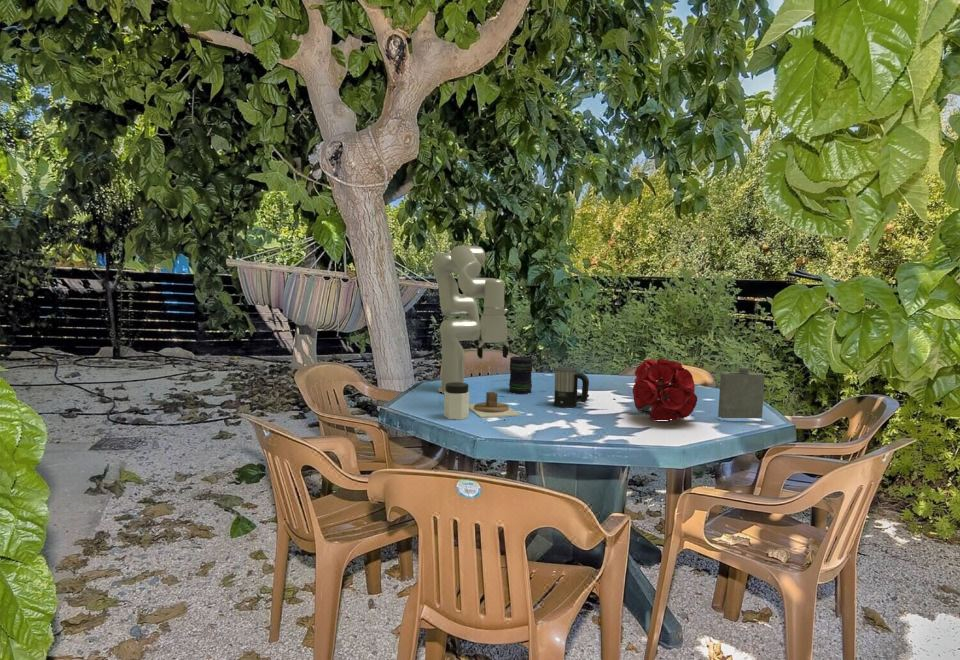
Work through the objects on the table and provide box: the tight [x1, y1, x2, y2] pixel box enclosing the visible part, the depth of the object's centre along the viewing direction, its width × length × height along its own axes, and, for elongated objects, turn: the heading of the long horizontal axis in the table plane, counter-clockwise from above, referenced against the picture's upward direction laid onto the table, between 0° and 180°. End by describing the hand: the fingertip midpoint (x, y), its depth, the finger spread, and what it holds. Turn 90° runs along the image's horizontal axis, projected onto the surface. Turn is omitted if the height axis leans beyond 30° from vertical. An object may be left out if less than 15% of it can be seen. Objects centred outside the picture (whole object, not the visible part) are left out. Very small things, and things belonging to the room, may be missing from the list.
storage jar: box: [508, 356, 533, 395], centre depth 268 cm, size 10×10×15 cm
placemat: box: [469, 402, 521, 419], centre depth 232 cm, size 20×15×1 cm
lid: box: [474, 391, 509, 413], centre depth 233 cm, size 13×13×6 cm
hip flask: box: [717, 366, 766, 419], centre depth 225 cm, size 16×4×20 cm, turn 91°
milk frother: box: [553, 366, 590, 408], centre depth 246 cm, size 14×16×15 cm
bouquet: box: [632, 357, 698, 422], centre depth 226 cm, size 22×24×30 cm
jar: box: [443, 382, 470, 421], centre depth 221 cm, size 9×8×12 cm
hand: (492, 357), depth 231 cm, fingers open, 9 cm apart
